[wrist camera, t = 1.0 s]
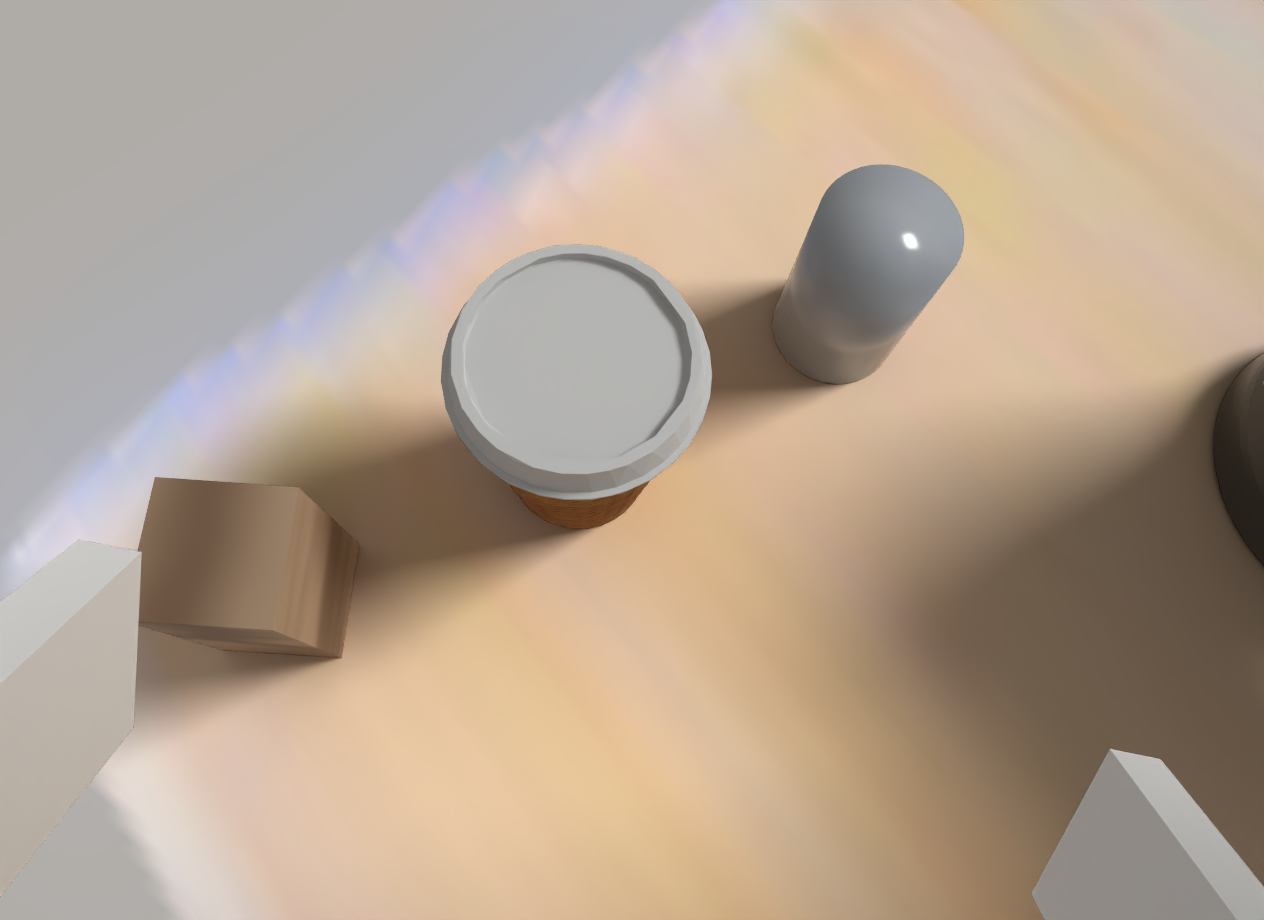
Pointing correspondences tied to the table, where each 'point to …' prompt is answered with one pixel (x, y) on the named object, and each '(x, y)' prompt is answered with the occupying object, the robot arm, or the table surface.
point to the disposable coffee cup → (576, 379)
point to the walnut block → (245, 568)
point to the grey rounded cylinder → (865, 271)
